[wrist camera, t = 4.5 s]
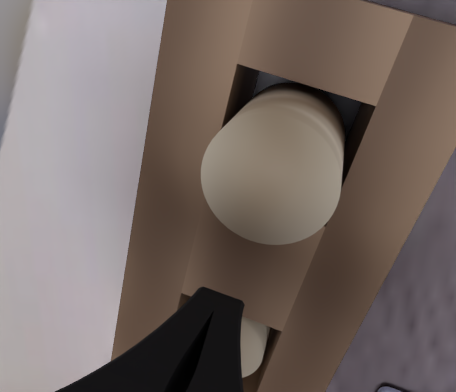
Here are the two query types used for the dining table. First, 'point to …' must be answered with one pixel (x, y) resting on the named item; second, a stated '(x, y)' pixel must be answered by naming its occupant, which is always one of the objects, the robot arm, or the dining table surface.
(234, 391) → the robot arm
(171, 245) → the walnut block
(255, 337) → the peg back
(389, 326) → the dining table surface
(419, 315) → the dining table surface
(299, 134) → the peg front
